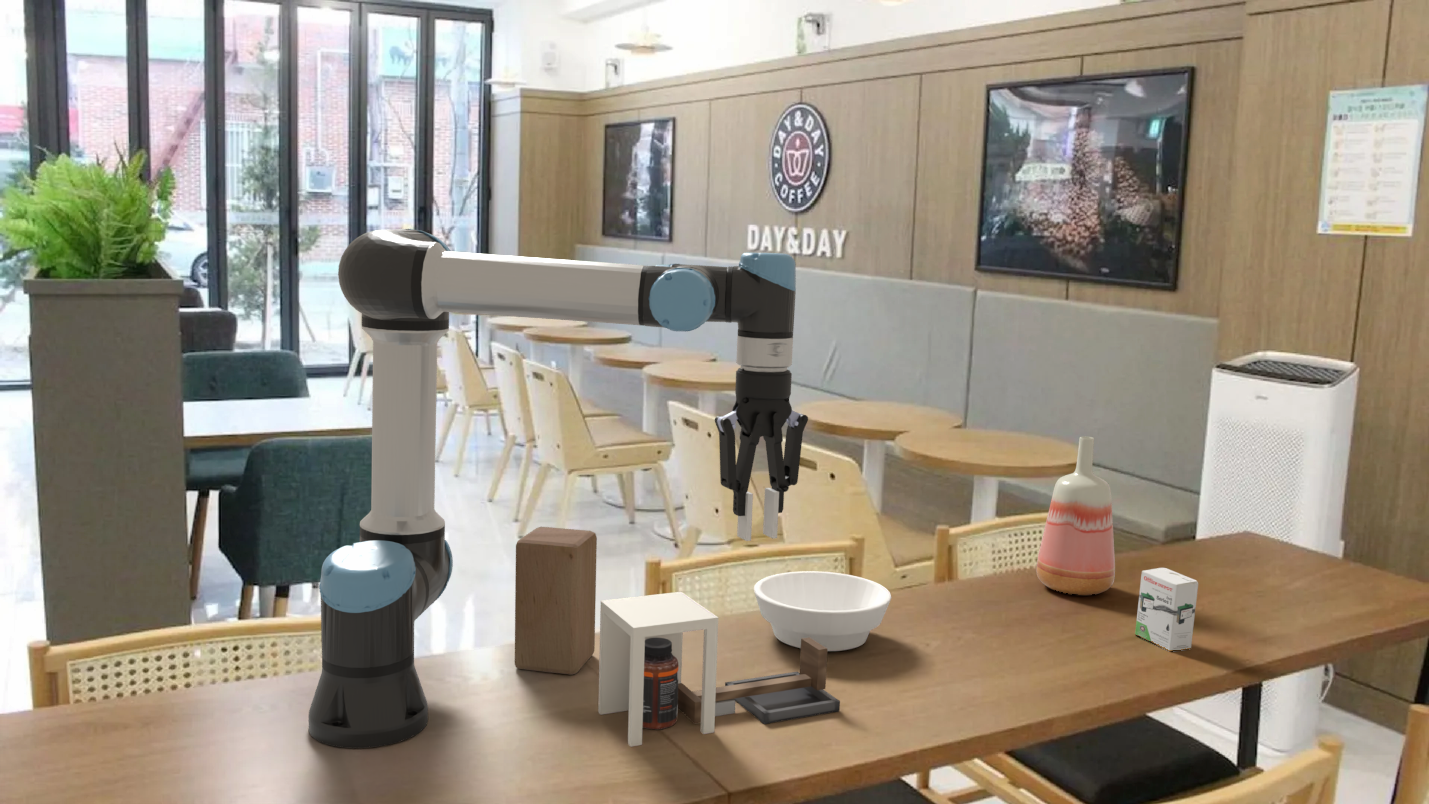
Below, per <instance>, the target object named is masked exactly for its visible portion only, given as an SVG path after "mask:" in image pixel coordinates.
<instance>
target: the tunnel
mask: <svg viewBox="0 0 1429 804" xmlns="http://www.w3.org/2000/svg"><path fill="white" fill-rule="evenodd" d="M599 616H600V618H599V621H600V622H599V625H600V626H599V659H598V660H599V662H598V664H599V665H598V666H599V667H598V668H599V669H598V704H597V705H598V706H597V707H598V708H597V709H598V712H597V713H598V714H599V715H608V714H613V713H621V712H626V711H628V725H627V745H628V746H629V747H630V748H631V747H637V746H642V745H643V727H642V725H643V689H644V652H645V640H646V639H649V638H665V639H668V640H670V641H671V642H672V652H671V653H672V655H673V656H675V657H676V658H677V660H678V683H682V667H683V666H682V664H683V663H682V662H683V636H684V635H683V633H686V632H687V633H688V632H694V631H702V630H703V645H702V646H703V649H702V650H703V651H702V674H701V675H702V677H701V678H702V680H701V681H702V682H701V690H702V702H701V723H700V733H701V734H702V735H706V734H713V733H715V717H720V716H725V715H726V716H727V715H731V714H736V701H735V700H734V699H728V700H722V701H716V702H715V697H716V688H717V669H718V668H717V667H718V665H717V663H718V642H719V641H718V640H719V639H718V637H719V616H717V615H715V614H714V613H713V612H712V611H710V610H708V609H707V608H706V607H704V606H702V604H700V603H698V602H697V601H695V600H694V599H693V598H691V597H689V596H688V595H687V594H686V593H684V592H682V591H676V592H667V593H658V594H657V593H655V594H649V595H647V594H646V595H639V596H631V597H623V598H621V597H619V598H614V599H611V598H610V599H604V600H600V615H599Z"/></svg>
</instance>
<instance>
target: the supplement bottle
mask: <svg viewBox="0 0 1429 804" xmlns="http://www.w3.org/2000/svg"><path fill="white" fill-rule="evenodd" d="M671 652H672V642H671V641H670V640H668V639H665V638H649V639H646V640H645V652H644V689H643V725H642V729H647V730H664V729H668V728H671V727H672V726H674V725H675V724H676V723H677V722H678V712H679V711H678V710H679V709H678V660H677V658H676V657H675V656H673V655H672V653H671Z"/></svg>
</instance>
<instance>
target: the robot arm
mask: <svg viewBox="0 0 1429 804" xmlns="http://www.w3.org/2000/svg"><path fill="white" fill-rule="evenodd" d="M796 265H797V263H796V260H795V259H794V258H793V257H792V255H790V254H788V253H781V252H779V253H775V252H751V251H749V252H748V251H747V252H743V253H742V254H741V255H740V261H739V263H738V265H734V266H715V265H700V264H699V265H698V264H681V263H670V264H655V265H644V264H630V263H620V262H619V263H615V262H606V261H605V262H603V261H602V262H601V261H589V260H576V259H575V260H573V259H572V260H571V259H564V258H563V259H561V258H560V259H559V258H549V257H548V258H547V257H546V258H545V257H533V256H520V255H519V256H518V255H505V254H492V253H491V254H489V253H477V252H463V251H452V250H451V248H449V246H448V245H446V243H445V242H444V241H442V240H441V239H440V238H438V237H437V236H436V235H433V234H431V233H428V232H426V231H423V230H421V229H420V230H419V229H412V228H399V229H375V230H371V231H368V232H364V233H363V234H362V235H359V236H358V237H356V238H355V239H354V240H352V241H351V242H350V243H349V245H348V246H347V247H346V248H345V249H344V252H343V253H342V255H341V257H340V260H339V264H338V270H337V273H338V274H337V277H338V283H339V286H340V291H341V292H342V294H343V296H344V298H345V299H346V301H347V302H348V303H349V305H350V306H351V307H353V308H354V309H355V310H356V311H358V312H359V313H360V314H361V329H362V330H363V331H364V332H365V333H366V335H368V336H369V337H370V338H371V340H372V405H371V406H372V407H371V408H372V409H371V410H372V412H371V413H372V414H371V415H372V416H371V418H372V419H371V422H372V423H371V497H370V498H371V506H370V508H371V510H370V511H369V512H368V513H367V514H366V515H365V516H364V517H363V518H362V519H361V520H360V521H359V542H353V543H352V544H351V545H343V546H341V547H339V548H337V549H335V550H334V551H332V552H330V554H328V556H326V558H325V559H324V561H323V563H322V566H321V573H320V579H319V586H318V587H319V593H320V594H319V595H320V630H321V634H320V636H321V674H320V676H319V679H318V683H317V685H316V690H315V692H314V695H313V698H312V701H311V704H310V708H309V711H308V732H309V735H310V736H311V737H312V738H313V739H314V740H315V741H318V742H319V743H322V744H326V745H328V746H333V747H339V748H348V749H364V748H366V749H367V748H377V747H383V746H388V745H393V744H397V743H399V742H403V741H405V740H408V739H410V738H412V737H414V736H416V735H417V734H419V733H421V732H422V731H423V730H424V729H425V728H426V727H427V724H428V722H429V706H428V705H429V704H428V700H427V698H426V695H425V692H424V689H423V687H422V683H421V681H420V678H419V675H418V673H417V669H416V665H415V621H416V620H417V619H418V618H419V617H420V616H421V615H423V613H424V612H425V611H426V610H427V609H428V608H429V607H430V606H432V605H433V604H434V603H435V602H436V601H437V600H438V599H439V598H440V597H441V596H442V594H443V593H444V591H445V590H446V589H447V586H448V583H449V581H450V579H451V577H452V573H453V566H454V565H453V564H454V563H453V562H454V561H453V553H452V550H451V547H450V544H449V543H448V540H446V538H445V535H446V531H445V529H446V521H445V519H444V518H443V517H442V516H441V515H440V514H439V513H438V512H437V511H436V510H435V500H436V499H435V497H436V496H435V490H436V489H435V488H436V445H437V444H436V440H437V439H436V437H437V434H436V433H437V430H436V429H437V386H438V385H437V383H438V382H437V381H438V380H437V379H438V377H437V375H438V374H437V373H438V342H439V341H440V340H441V339H442V338H443V336H445V335H446V334H447V333H448V332H449V331H450V313H457V314H471V315H472V314H474V315H476V314H477V315H486V316H489V315H490V316H501V317H516V318H530V319H546V320H558V321H560V320H561V321H574V322H584V323H585V322H586V323H587V322H589V323H599V324H600V323H601V324H603V323H604V324H613V325H614V324H615V325H631V326H644V327H651V328H665V329H668V330H670V331H672V332H691V331H694V330H696V329H699V328H700V327H701V326H702V325H704V324H705V323H707V322H709V323H729V324H730V323H737V328H738V329H737V339H736V340H737V341H736V342H737V344H736V359H735V361H736V364H737V365H738V366H740V367H739V368H737V370H736V371H735V390H734V391H735V392H734V393H735V402H734V405H733V407H732V409H731V412H729V413H727V414H725V415H723V416H722V415H717V416H716V417H715V418H714V423H715V426H716V428H717V431H718V435H719V436H718V438H719V441H718V442H719V471H720V472H719V474H720V475H719V476H720V485H721V486H722V487H725V488H727V489H729V490H731V491H732V492H733V498H732V499H733V500H732V503H733V504H732V511H733V515H735V516H737V531H736V534H737V535H736V536H737V537H738V538H740V539H741V540H743V541H746V542H750V541H752V525H753V523H752V521H753V500H754V496H753V495H754V493H752V492H750V491H749V485H750V480H751V476H752V470H753V465H754V460H755V455H756V450H757V445H759V444H760V439H761V437H762V438H763V440H764V442H765V450H766V459H767V468H768V477H769V485H770V487H765V488H764V501H763V502H764V503H763V525H762V526H763V528H762V534H763V535H764V536H767V537H768V538H771V539H778V529H779V528H778V525H779V514H781V513H783V510H784V503H785V502H784V501H785V493H786V492H788V491H789V489H790V486H795V485H797V483H798V482H799V472H800V464H801V463H800V462H801V452H802V444H803V443H802V442H803V436H804V434H803V433H804V431H805V428H806V425H807V424H808V421H809V417H808V415H806V414H804V413H800V412H797V411H794V410H793V409H792V405H791V403H790V397H791V394H792V379H793V378H792V375H793V374H792V372H791V370H790V369H788V368H789V367H791V366H792V365H793V348H794V346H793V344H794V343H793V342H794V329H795V328H794V326H795V325H794V324H795V323H794V322H795V309H796V308H795V306H796V289H797V287H796V285H797V284H796V283H797V281H796V279H797V278H796V271H797V269H796ZM736 422H737V423H738V425H739V426H740V433H739V441H740V442H739V449H738V452H737V453H738V454H736V450H737V449H736V432H735V429H736V428H737V424H736ZM785 423H786V424H787V427H786V432H785V433H786V434H785V441H784V442H785V443H784V452H783V445H782V444H783V443H782V442H783V439H784V438H783V429H782V428H783V427H784V426H785ZM736 456H737V457H736Z"/></svg>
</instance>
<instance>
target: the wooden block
mask: <svg viewBox="0 0 1429 804" xmlns="http://www.w3.org/2000/svg"><path fill="white" fill-rule="evenodd" d="M597 540H598V537H597V534H596V532H594V531H591V530H587V529H575V528H572V529H571V528H562V527H552V526H551V527H549V526H537V527H535V529H533V530H532V531H530V532H528V533H527V534H526V535H524V536H522V537H521V538H520V539H518V540H517V542H516V544H515V592H514V593H515V595H514V596H515V597H514V598H515V599H514V601H515V602H514V606H515V607H514V665H515V668H517V669H520V670H527V671H537V672H546V673H553V674H554V673H555V674H563V675H571V676H572V675H575V674H577V673H578V672H579V671H580V670H581V669H582V667H584V665H585V664H586V663H588V661H589V659H591V657H592V656H593V655H594V653H595V645H596V643H595V642H596V596H597V593H596V591H597V587H596V586H597V547H598V546H597V542H598V541H597Z"/></svg>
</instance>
